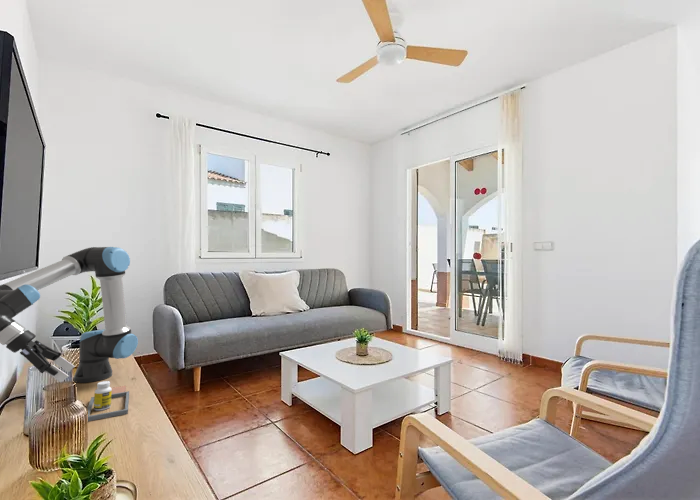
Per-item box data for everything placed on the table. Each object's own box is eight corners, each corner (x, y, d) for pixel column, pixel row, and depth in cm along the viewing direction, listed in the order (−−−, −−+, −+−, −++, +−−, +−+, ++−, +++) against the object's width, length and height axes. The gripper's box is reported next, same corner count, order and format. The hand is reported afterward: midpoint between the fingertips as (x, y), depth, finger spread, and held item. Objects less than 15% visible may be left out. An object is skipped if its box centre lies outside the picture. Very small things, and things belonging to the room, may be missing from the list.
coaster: (98, 391, 149) (98, 389, 149) (125, 386, 155) (126, 385, 155) (96, 398, 141) (96, 397, 141) (125, 393, 146) (125, 392, 146)
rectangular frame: (91, 400, 138) (91, 397, 138) (129, 394, 145) (129, 391, 145) (83, 422, 120) (84, 417, 120) (127, 413, 127) (127, 409, 127)
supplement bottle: (101, 411, 128) (102, 385, 129) (90, 410, 129) (91, 384, 130) (114, 406, 134) (115, 380, 134) (103, 404, 135) (104, 379, 135)
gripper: (16, 339, 128) (65, 373, 135) (-9, 353, 107) (51, 393, 114) (35, 324, 131) (82, 358, 139) (15, 335, 110) (72, 374, 117)
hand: (68, 374), depth 126 cm, fingers open, 13 cm apart
